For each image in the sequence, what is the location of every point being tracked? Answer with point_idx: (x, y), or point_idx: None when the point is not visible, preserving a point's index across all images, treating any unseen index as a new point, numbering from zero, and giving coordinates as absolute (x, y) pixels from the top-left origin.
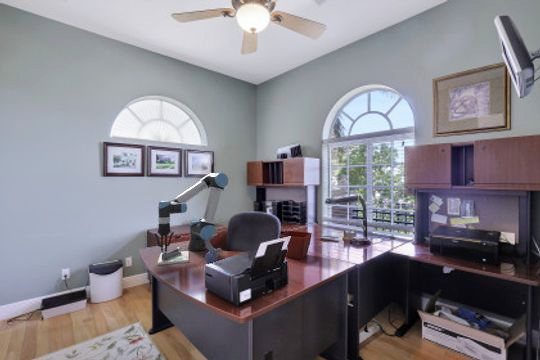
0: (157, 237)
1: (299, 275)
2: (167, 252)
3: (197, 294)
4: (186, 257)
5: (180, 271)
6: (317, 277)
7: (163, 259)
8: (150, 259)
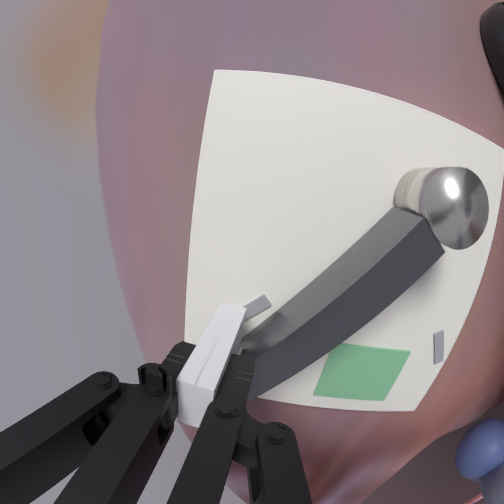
0: (23, 498)
1: None
2: (263, 372)
3: None
4: (434, 358)
5: (310, 478)
6: None
7: None
8: (125, 192)
